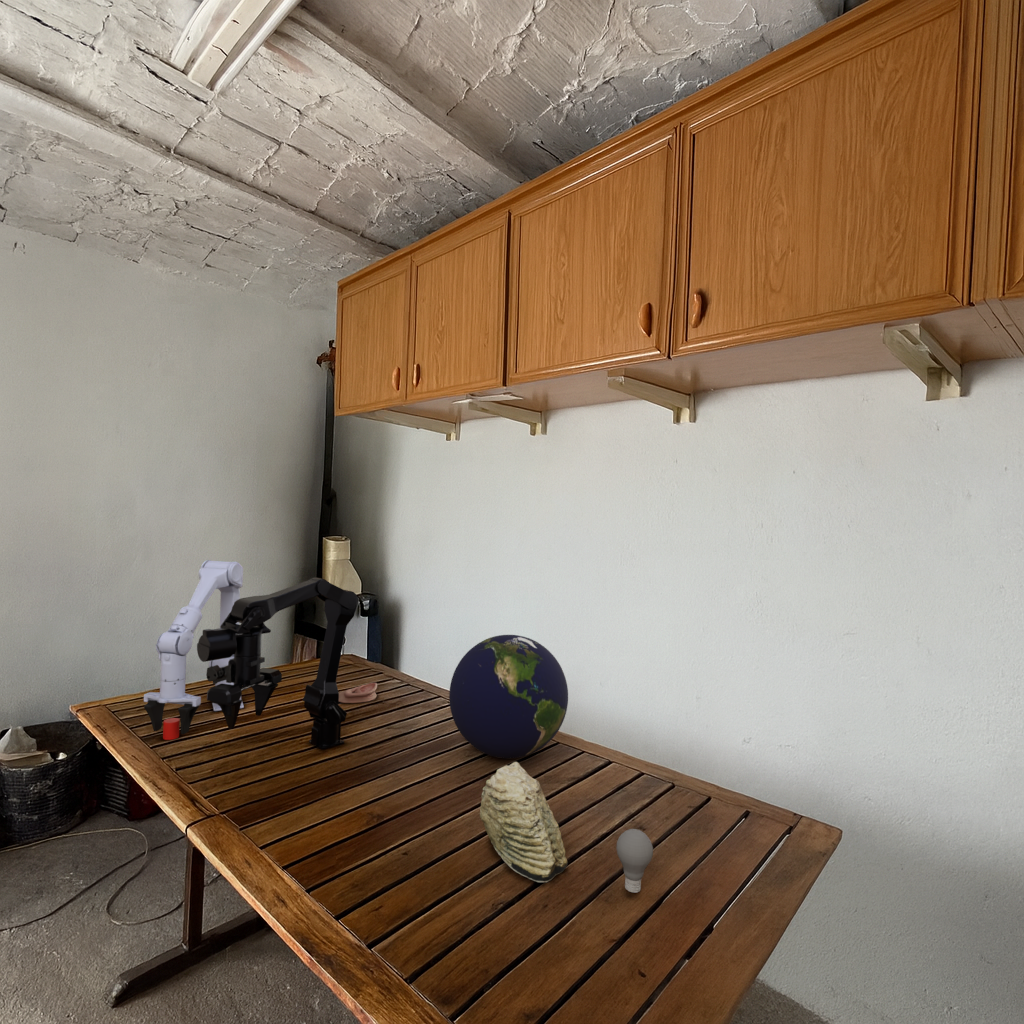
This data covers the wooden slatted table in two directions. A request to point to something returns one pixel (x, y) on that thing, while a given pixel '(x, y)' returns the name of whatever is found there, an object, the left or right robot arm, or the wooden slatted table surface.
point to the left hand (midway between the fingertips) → (171, 731)
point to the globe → (508, 696)
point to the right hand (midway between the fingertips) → (245, 721)
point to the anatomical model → (359, 694)
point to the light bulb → (634, 857)
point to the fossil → (522, 824)
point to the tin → (171, 728)
